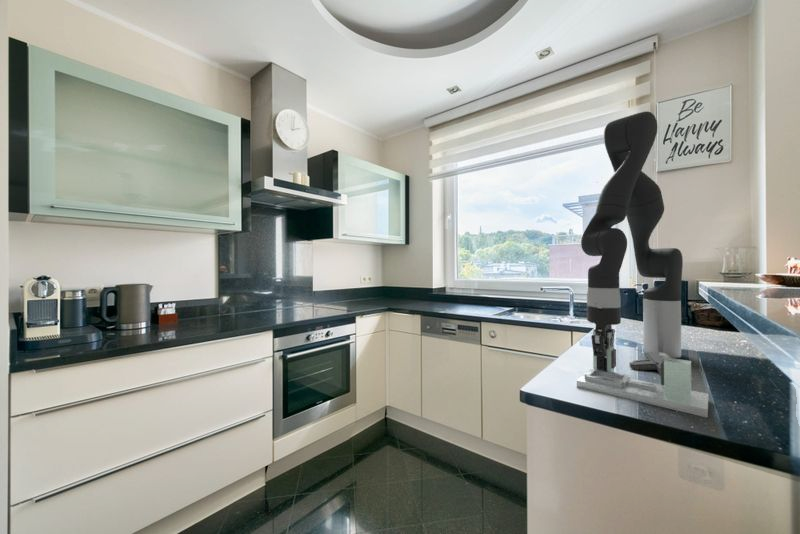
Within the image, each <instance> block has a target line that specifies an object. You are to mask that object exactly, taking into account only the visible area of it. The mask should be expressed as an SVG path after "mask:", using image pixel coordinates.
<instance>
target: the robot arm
mask: <svg viewBox="0 0 800 534" xmlns="http://www.w3.org/2000/svg"><path fill="white" fill-rule="evenodd" d="M657 133H658V121H657V118H656V116H655V114H654V113H652V112H650V111H641V112H638V113H634V114H631V115H627V116H624V117H621V118H617V119H615V120H612V121H610V122H608V123H607V124H606V125H605V127H604V130H603V143H604V146H605V150H606V153H607V156H608V159H609V161H610V163H611V166H612V169H613V172H614V173H613V175H612V176H611V177H610V178H609V179H608V180H607V181H606V183H605V184H604V185H603V188H602V189H601V192H600V194H599V198H598V201H597V205H596V209H595V213H594V214H593V216H592V217H591V219H590V221H589V223H588V224H587V226H586V227H585V229H584V232H583V233H582V236H581V240H580V245H581V249H582V252H583V253H584V254H585V255H587V256H590V257H600V261H599V263H598V264H595V265H591V266H590V267H589V268H588V270H587V294H586V321H587V322H589V323H592V324H595V328H594V329H593V331H592V334H591V337H590V338H591V343H592V344H591V345H592V352H593V353H592V354H594V356H596V357H597V370H603V371H607V357H608V355H607V350H608V349H609V348H610V345H611V346H614V347H615V332H616V329H615V328H612V327H613V326H616V325H619V324H621V322H622V320H621V319H622V318H621V315H622V313H621V312H622V310H621V309H622V307H621V306H622V305H621V301H622V299H621V293H620V292H621V291H620V271H621V268H622V266H623V265H622V264H623V262H624V259H625V255H626V254H627V253H626V252H627V249H628V239H627V236H626V233H625V232H624V231H623V230H621V229H620V228H616V227H613V226H615V225H618V224H620V223H622V222H623V221H625V219H626V220H627V223H628V226H629V231H630V234H631V237H632V238H631V239H632V245H633V250H634V256H635V263H636V269H637V272H638V273H639V275H640V276H641V277H643V278H651V279H652V278H656V279H658V278H659V279H660V278H661V279H665V280H664V282H663V283H662V284H660V285H658V286H655V287H651V288H647V289H644V290H643V292H642V311H643V312H642V318H643V319H642V320H643V321H642V322H643V325H642V326H643V327H642V330H643V331H642V332H643V336H642V337H643V339H642V340H643V341H642V342H643V343H642V344H643V345H642V346H643V347H642V352H643V354H647V353H646V352H654V353H655V352H661V353H665V354H667V355H668V356H669V357H670V358H674V359H680V358H682V279H683V265H684V264H683V261H684V260H683V259H684V258H683V254H682V252H681V250H680V249H678V248H675V247H673V248H672V247H666V248H665V247H661V248H651V247H650V244H649V243H650V237H651V235H652V233H653V232H654V230H655V229H656V227H657V225H658V224H659V222H660V221H661V219H662V217H663V214H664V212H665V204H664V200H663V195H662V191H661V188H660V186H659V185H658V184H657V182H656V181H654V180H653V179H652V178H651V177H650V176H648V175H647V174H646V173H645V172H643V171H642V170H643V168H644V166H645V164H646V161H647V160H648V156H649V155H650V152H651V149H652V148H653V145H654V143H655V140H656V138H657ZM599 349H601V350H602V352H599Z"/></svg>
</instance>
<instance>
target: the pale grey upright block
mask: <svg viewBox="0 0 800 534" xmlns="http://www.w3.org/2000/svg"><path fill="white" fill-rule="evenodd" d="M599 352H602V350H601V349H599ZM592 354H593V353H592ZM607 355H608V357H607V371H608V372H613V373H615V368H617V349H616V348H615V345H614V346H611V345H610V348H609V349H608V350H607ZM592 358H593V361H592V362H593V363H592V365H593V368H592V370H593V369H597V357H596V356H594V354H593V356H592Z"/></svg>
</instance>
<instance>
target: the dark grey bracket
mask: <svg viewBox="0 0 800 534" xmlns="http://www.w3.org/2000/svg"><path fill="white" fill-rule="evenodd" d="M646 353H647V354H646ZM646 353H644V355H645V359H644V358H643V359H638V360H637V359H636V360H632V362H628V363H629V367H630V369H631V370H634V371H635V370H636V371H647V370H652V371H653V370H654V371H656V370H657V373H658V374H659V375H660V376H661V363H662V361H664V360H665V358H666V357H667V358H670V357H669V356H668V355H667V354H665V353H661V352H655V353H654V352H646ZM639 369H640V370H639Z"/></svg>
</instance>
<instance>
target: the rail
mask: <svg viewBox="0 0 800 534" xmlns="http://www.w3.org/2000/svg"><path fill="white" fill-rule="evenodd" d="M576 387H577V388H581V389H585V390H589V391H593V392H596V393H597V392H598V393H600V394H601V393H602V394H606V395H611V396H615V397H619V398H622V399H627V400H632V401H635V402H639V403H644V404H648V405H653V406H656V407H659V408H660V407H661V408H664V409H670V410H673V411H678V412H682V413H686V414H691V415H694V416H699V417H702V418H708V416H709V415H708V414H709V393H706V392H701V391H697V390H692V360H688V359H680V358H667V357H666V358H665V360H664V361H662V363H661V375H660V383H656V382H651V381H645V380H640V379H636V378H630V376H629V375H627V374H622V373H616V372H614V373H613V372H608V371H603V370H597V369H593V368H592V369H588V370H587V371H586V372H585V373H584V374H582V375H581V376H580V377H579V378H578V379H576Z"/></svg>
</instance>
